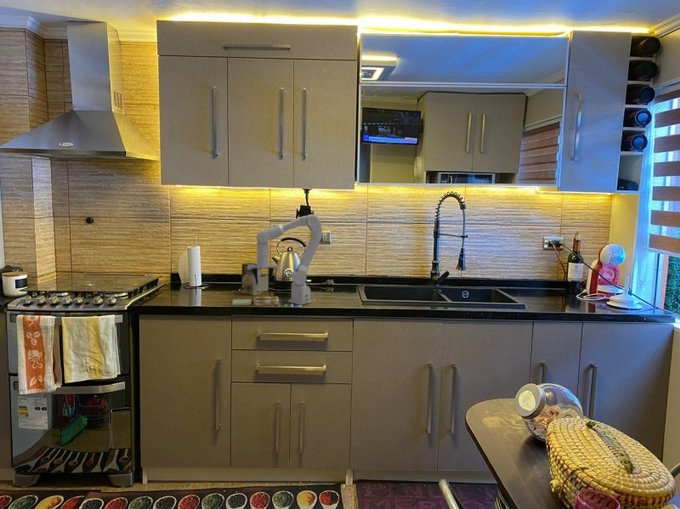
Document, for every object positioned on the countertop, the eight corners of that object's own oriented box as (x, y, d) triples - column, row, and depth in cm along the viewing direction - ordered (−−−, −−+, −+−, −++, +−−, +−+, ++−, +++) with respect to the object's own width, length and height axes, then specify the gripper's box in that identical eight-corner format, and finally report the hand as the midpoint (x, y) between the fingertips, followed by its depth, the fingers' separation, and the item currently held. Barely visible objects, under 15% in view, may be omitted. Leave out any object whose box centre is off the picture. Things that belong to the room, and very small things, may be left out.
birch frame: (277, 300, 236) (277, 296, 236) (278, 304, 227) (278, 300, 226) (253, 301, 234) (253, 296, 234) (253, 305, 225) (253, 301, 224)
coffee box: (241, 293, 253) (241, 263, 251) (249, 291, 258) (249, 262, 256) (253, 295, 247) (253, 265, 246) (262, 293, 253) (262, 264, 251)
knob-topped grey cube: (267, 289, 232) (267, 274, 232) (268, 290, 228) (268, 275, 227) (257, 289, 232) (257, 274, 231) (257, 291, 227) (257, 275, 226)
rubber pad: (251, 300, 235) (251, 299, 235) (251, 304, 226) (251, 303, 226) (233, 301, 233) (233, 299, 233) (232, 305, 224) (232, 303, 224)
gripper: (247, 257, 222) (247, 285, 224) (278, 257, 225) (278, 285, 227) (247, 255, 229) (247, 283, 231) (277, 255, 232) (277, 282, 233)
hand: (262, 283), depth 229 cm, fingers closed on knob-topped grey cube, 5 cm apart
